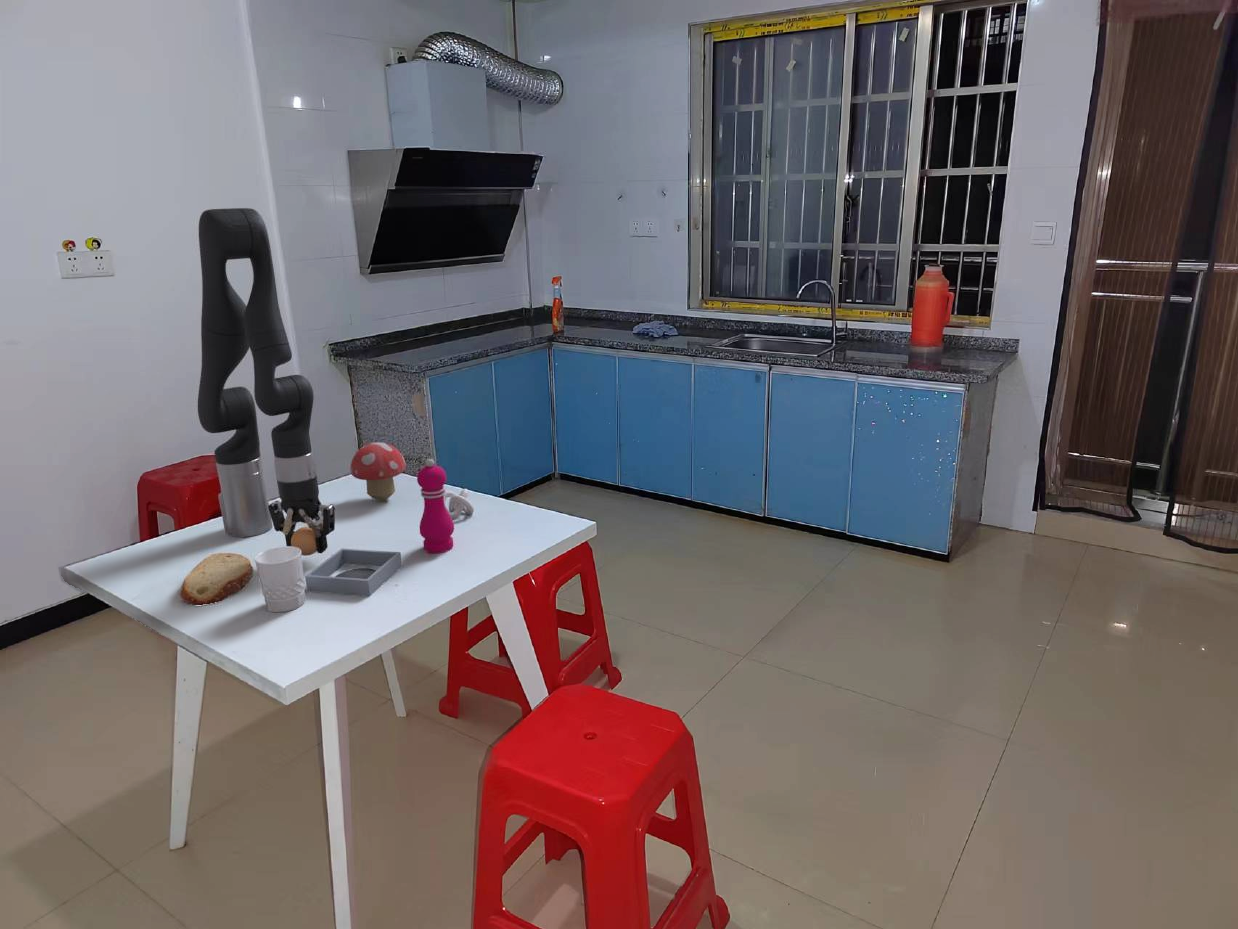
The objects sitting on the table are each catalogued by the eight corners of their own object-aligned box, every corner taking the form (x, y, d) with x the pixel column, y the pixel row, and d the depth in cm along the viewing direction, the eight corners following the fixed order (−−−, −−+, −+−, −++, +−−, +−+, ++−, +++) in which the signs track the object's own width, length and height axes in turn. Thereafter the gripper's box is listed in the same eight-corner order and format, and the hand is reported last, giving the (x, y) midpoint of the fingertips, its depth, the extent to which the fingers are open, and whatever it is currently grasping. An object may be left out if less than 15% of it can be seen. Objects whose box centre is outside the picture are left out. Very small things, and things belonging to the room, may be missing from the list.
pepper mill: (462, 546, 170) (454, 458, 164) (434, 557, 165) (424, 466, 159) (443, 538, 175) (434, 452, 169) (415, 548, 170) (405, 459, 164)
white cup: (263, 617, 142) (254, 567, 138) (263, 599, 148) (254, 550, 145) (309, 608, 144) (302, 558, 141) (307, 591, 151) (300, 543, 148)
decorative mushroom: (420, 496, 202) (414, 439, 197) (381, 513, 191) (374, 453, 186) (383, 488, 208) (376, 433, 204) (343, 504, 197) (335, 447, 193)
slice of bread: (228, 557, 169) (225, 541, 167) (284, 574, 160) (281, 557, 159) (145, 591, 154) (141, 574, 153) (201, 612, 145) (197, 594, 144)
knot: (445, 523, 183) (443, 500, 182) (436, 512, 190) (434, 490, 188) (476, 517, 187) (474, 494, 185) (466, 507, 193) (464, 484, 192)
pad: (323, 587, 153) (323, 586, 153) (347, 567, 161) (347, 566, 161) (365, 590, 151) (365, 589, 151) (387, 570, 159) (387, 569, 159)
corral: (307, 591, 151) (304, 576, 150) (343, 562, 164) (341, 548, 163) (370, 596, 149) (368, 580, 148) (402, 566, 161) (400, 552, 160)
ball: (287, 559, 162) (282, 532, 160) (303, 547, 168) (299, 521, 166) (313, 561, 161) (309, 534, 159) (329, 549, 167) (325, 523, 165)
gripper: (253, 478, 157) (266, 555, 162) (318, 482, 154) (329, 560, 159) (275, 467, 164) (287, 541, 169) (338, 470, 161) (348, 545, 166)
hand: (307, 550), depth 164 cm, fingers closed on ball, 6 cm apart
